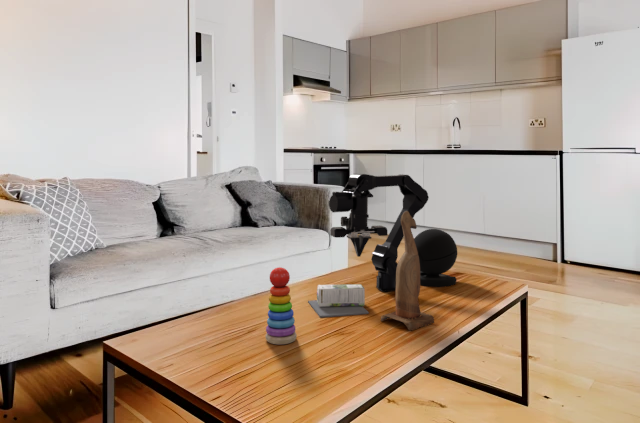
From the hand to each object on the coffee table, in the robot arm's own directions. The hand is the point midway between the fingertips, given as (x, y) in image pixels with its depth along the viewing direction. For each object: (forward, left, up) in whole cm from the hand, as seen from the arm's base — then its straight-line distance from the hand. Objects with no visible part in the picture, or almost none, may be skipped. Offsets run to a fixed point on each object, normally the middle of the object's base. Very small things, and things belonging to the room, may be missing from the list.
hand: (358, 256), depth 168 cm
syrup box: (+3, +13, -10) cm, 17 cm away
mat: (+12, +14, -13) cm, 22 cm away
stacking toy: (+33, +37, -13) cm, 51 cm away
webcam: (-33, -10, -13) cm, 37 cm away
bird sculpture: (-4, +32, -13) cm, 35 cm away
